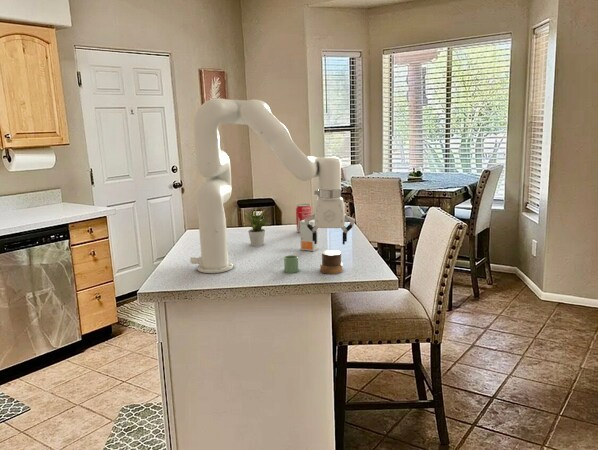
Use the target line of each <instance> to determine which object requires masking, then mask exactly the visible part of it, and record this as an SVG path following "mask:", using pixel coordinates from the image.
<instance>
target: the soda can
mask: <svg viewBox="0 0 598 450" xmlns="http://www.w3.org/2000/svg"><path fill="white" fill-rule="evenodd" d="M310 216H312V206H311V204H310V203H298V204H296V207H295V219H296V220H295V222H296V231H297V232H298V233H299V234H300V221H302V220H305V219H306V218H308V217H310Z"/></svg>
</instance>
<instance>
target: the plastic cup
mask: <svg viewBox="0 0 598 450" xmlns="http://www.w3.org/2000/svg"><path fill="white" fill-rule="evenodd" d="M283 268H284V270H283V271H284V272H285V273H287V274H295V273H298V272H299V256H298V255H293V254H291V255H285V256H284V257H283Z"/></svg>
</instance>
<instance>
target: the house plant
mask: <svg viewBox="0 0 598 450" xmlns="http://www.w3.org/2000/svg"><path fill="white" fill-rule="evenodd" d="M266 210H267V209H266V208H265V209H264V208H263V209H261V210H260V211H259V212H258V214H257V206H256V207H255V210H254V211H253V214H252V212H249V213H248V211H247V212H246V211H245V212H244V215H245V216H246V218H247V219H248V220H249V222H250V224H249V223H248V222H243V223H242V225H243V226H244V227H245V226H246V225H247V226H249V227H250V228H251V229H248V231H247V232H248V236H249V240H250V246H252V247H261V246H263V245H264V243H265V235H266V230H265V229H264V228H263V227H264V226H266V227H268V225H270V226H271V224H270V222H267V221H269V220H271V218H265V219H263V217H265V215H267V214H268V213H270V211H268V212H267V213H266V214H265V212H266ZM240 213H241V214H242V212H241V211H239V214H240Z"/></svg>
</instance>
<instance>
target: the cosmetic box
mask: <svg viewBox="0 0 598 450" xmlns="http://www.w3.org/2000/svg"><path fill="white" fill-rule="evenodd" d="M309 222H310V224H311V225H312V226H313V227H314V226H315V219H313V220H311V221H309ZM316 232H317V244H314V241H313V236H312V231H311V230H310V229H309V228H308V227H307V225H306V223H305V221H304V220H302V221H300V233H299V234H300V235H299V237H300V240H299V241H300V250H301V251H308V252H309V251H310V252H315V251H317V250H318V249H319V246H318V245H319V241H318V239H319V238H318V237H319V235H318V233H319V232H318V229H317V230H316Z"/></svg>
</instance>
